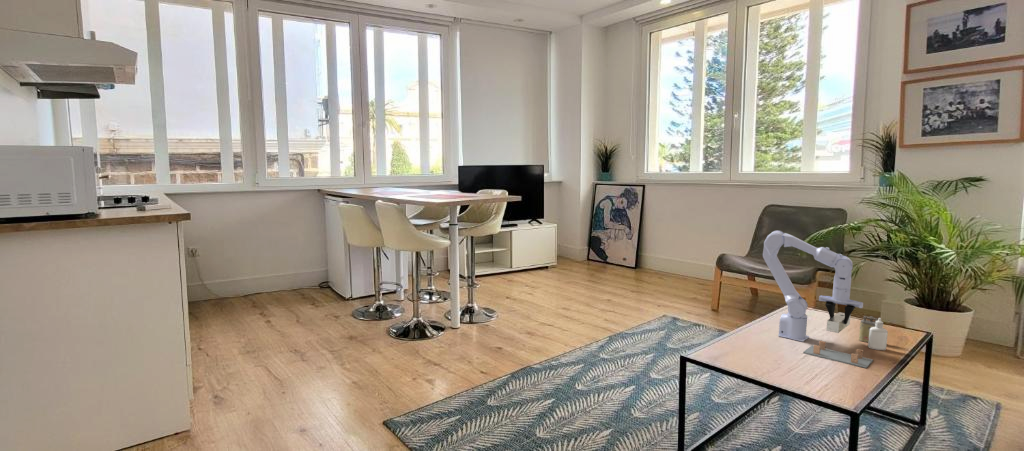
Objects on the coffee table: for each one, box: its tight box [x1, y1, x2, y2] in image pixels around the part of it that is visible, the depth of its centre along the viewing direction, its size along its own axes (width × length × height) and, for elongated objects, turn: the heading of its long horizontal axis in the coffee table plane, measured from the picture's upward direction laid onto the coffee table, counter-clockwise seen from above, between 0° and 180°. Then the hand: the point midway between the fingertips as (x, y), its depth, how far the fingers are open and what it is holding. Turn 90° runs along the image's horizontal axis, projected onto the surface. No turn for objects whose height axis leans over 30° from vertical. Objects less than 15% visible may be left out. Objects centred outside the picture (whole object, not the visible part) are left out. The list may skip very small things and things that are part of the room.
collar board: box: [802, 340, 874, 369], centre depth 194 cm, size 20×10×4 cm, turn 45°
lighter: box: [858, 315, 879, 343], centre depth 210 cm, size 7×4×10 cm, turn 48°
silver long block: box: [825, 311, 852, 334], centre depth 206 cm, size 16×4×4 cm, turn 135°
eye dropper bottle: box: [867, 317, 889, 351], centre depth 202 cm, size 4×6×12 cm
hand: (838, 322), depth 206 cm, fingers closed on silver long block, 4 cm apart
